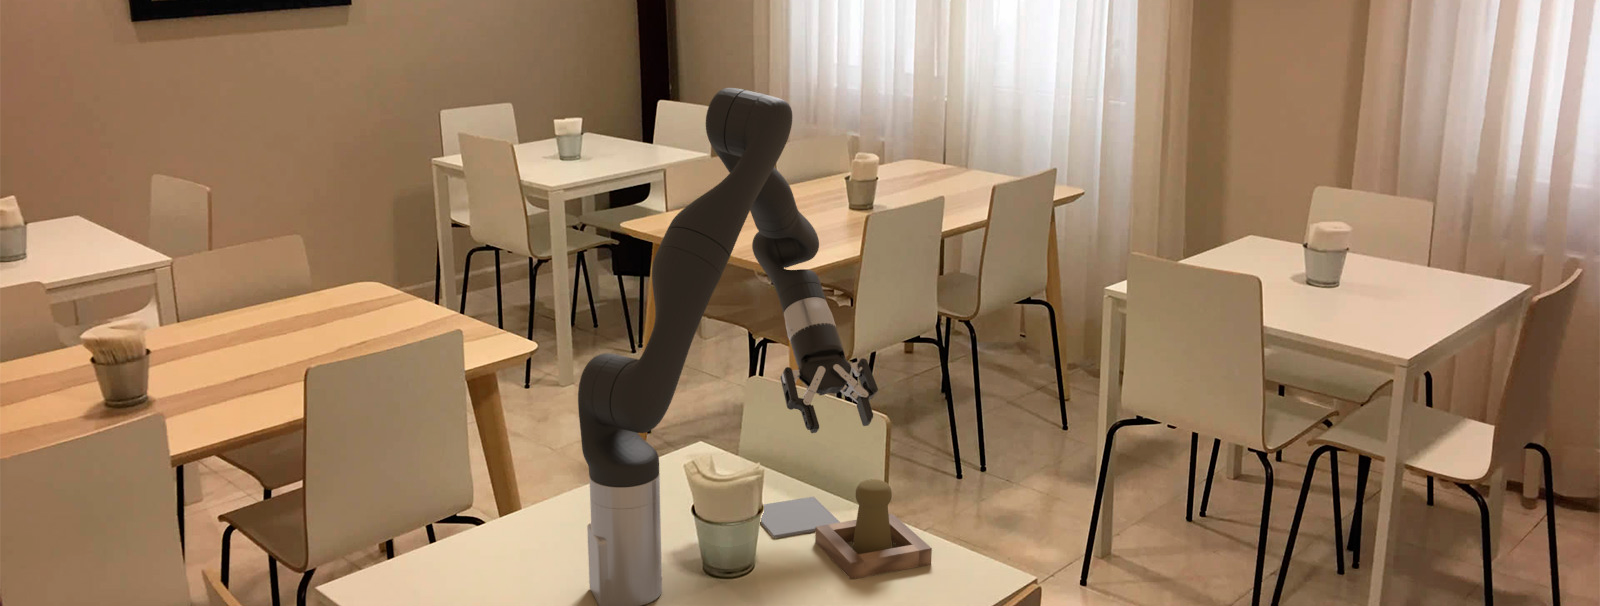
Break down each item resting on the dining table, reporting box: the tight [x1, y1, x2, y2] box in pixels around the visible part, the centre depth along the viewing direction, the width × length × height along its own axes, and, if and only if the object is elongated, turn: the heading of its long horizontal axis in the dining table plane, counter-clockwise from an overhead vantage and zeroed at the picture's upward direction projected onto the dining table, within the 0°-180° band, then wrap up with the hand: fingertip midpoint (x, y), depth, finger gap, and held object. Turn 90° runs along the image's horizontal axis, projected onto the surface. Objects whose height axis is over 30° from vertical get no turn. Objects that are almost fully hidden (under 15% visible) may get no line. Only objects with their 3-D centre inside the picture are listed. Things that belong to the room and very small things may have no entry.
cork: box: [851, 478, 893, 554], centre depth 186 cm, size 6×6×11 cm
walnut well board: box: [814, 513, 933, 580], centre depth 187 cm, size 13×13×2 cm
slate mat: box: [760, 496, 841, 539], centre depth 199 cm, size 11×11×1 cm
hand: (841, 427), depth 194 cm, fingers open, 8 cm apart
